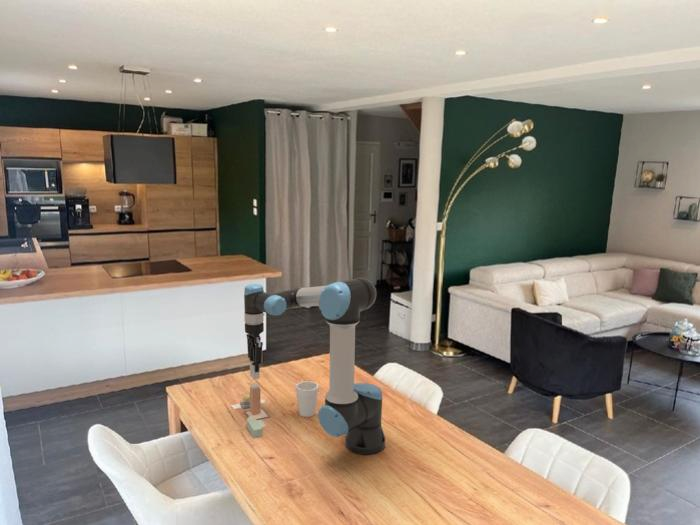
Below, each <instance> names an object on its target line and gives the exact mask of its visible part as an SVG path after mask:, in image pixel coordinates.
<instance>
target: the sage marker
mask: <svg viewBox="0 0 700 525" xmlns="http://www.w3.org/2000/svg"><path fill="white" fill-rule="evenodd" d="M245 423H246V429H247V430H248V431H249V433H250V435H251V437H253V438H254V439H255V438H260V437H263V432H264V431H263V430H264V429H263V428H264V427H261V425H260V424H259V422H258V421H257V420H256V418H255V417H254V418H252V417H249V418H248V417H247V418H246V420H245Z"/></svg>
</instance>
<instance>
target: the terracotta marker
mask: <svg viewBox="0 0 700 525" xmlns="http://www.w3.org/2000/svg"><path fill="white" fill-rule="evenodd" d="M249 394H250V408H249V410H250V412H251V413H252V415H255V414H259V413H261V408H262V406H261V404H262V403H261V400H260V399H261V388H260V385H259V383H252V384H251V385H250V386H249Z"/></svg>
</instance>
